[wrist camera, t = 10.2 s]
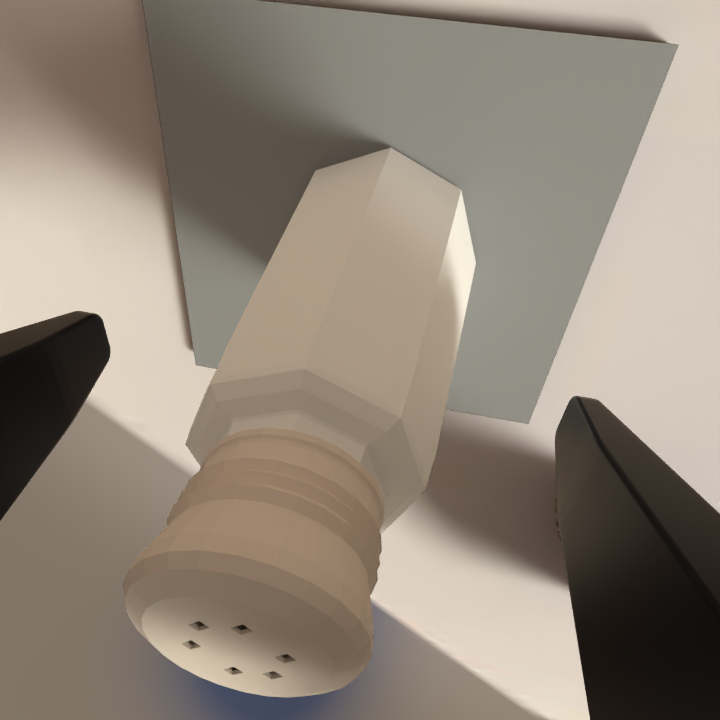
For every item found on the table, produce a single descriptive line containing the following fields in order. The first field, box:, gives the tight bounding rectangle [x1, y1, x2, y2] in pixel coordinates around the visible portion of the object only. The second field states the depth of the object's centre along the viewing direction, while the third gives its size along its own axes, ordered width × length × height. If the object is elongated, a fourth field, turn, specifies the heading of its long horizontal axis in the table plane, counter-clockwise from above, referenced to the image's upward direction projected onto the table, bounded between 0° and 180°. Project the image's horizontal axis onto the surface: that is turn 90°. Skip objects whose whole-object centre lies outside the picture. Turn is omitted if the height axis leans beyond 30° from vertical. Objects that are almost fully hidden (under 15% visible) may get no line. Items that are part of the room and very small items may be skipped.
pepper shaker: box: [123, 148, 476, 697], centre depth 10 cm, size 5×5×11 cm
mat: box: [142, 0, 678, 424], centre depth 14 cm, size 12×11×1 cm
